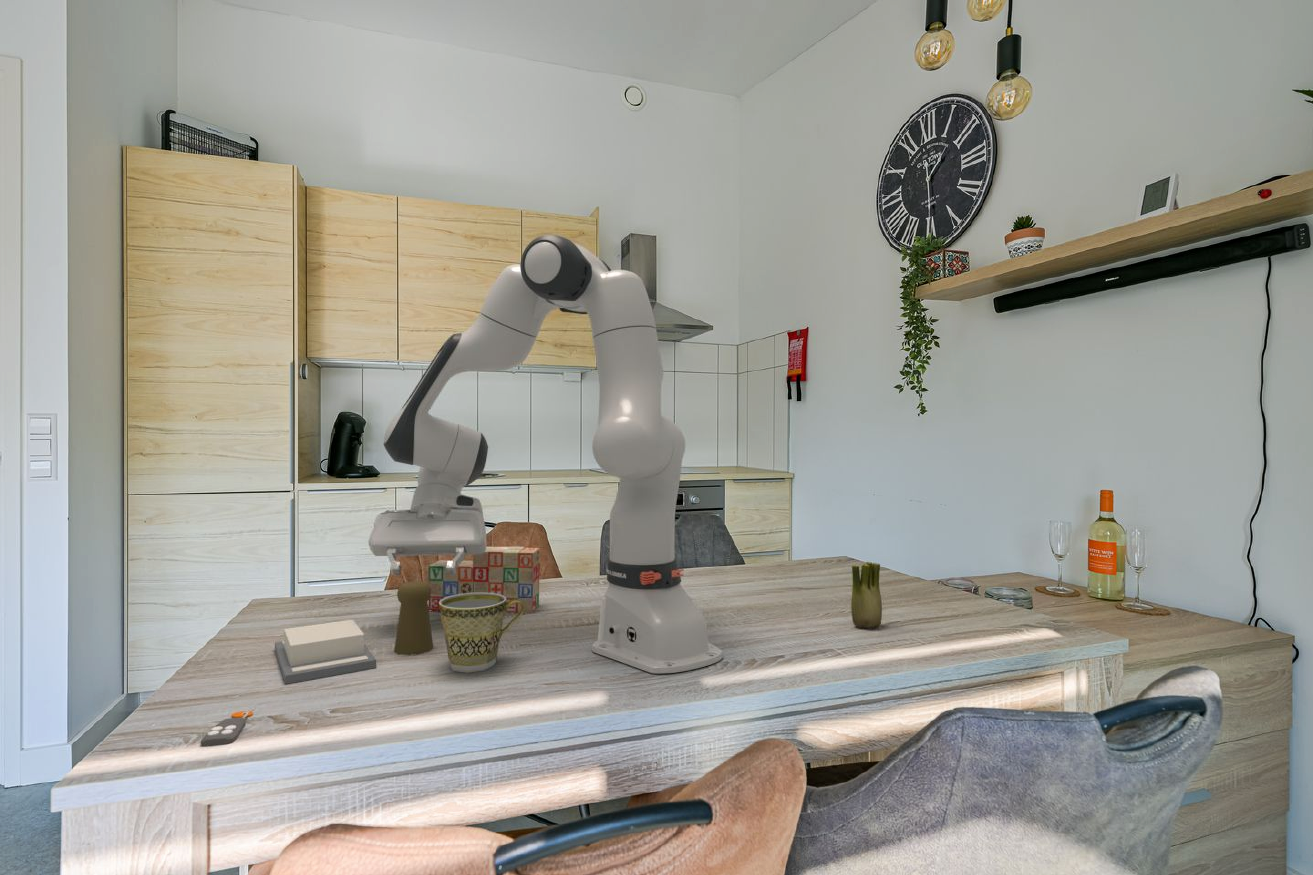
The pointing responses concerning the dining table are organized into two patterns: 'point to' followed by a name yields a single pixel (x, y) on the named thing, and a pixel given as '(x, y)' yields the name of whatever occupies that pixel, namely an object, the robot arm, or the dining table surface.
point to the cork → (414, 619)
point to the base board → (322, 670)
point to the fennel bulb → (866, 596)
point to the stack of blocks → (491, 577)
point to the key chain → (227, 729)
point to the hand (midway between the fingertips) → (423, 572)
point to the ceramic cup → (474, 628)
